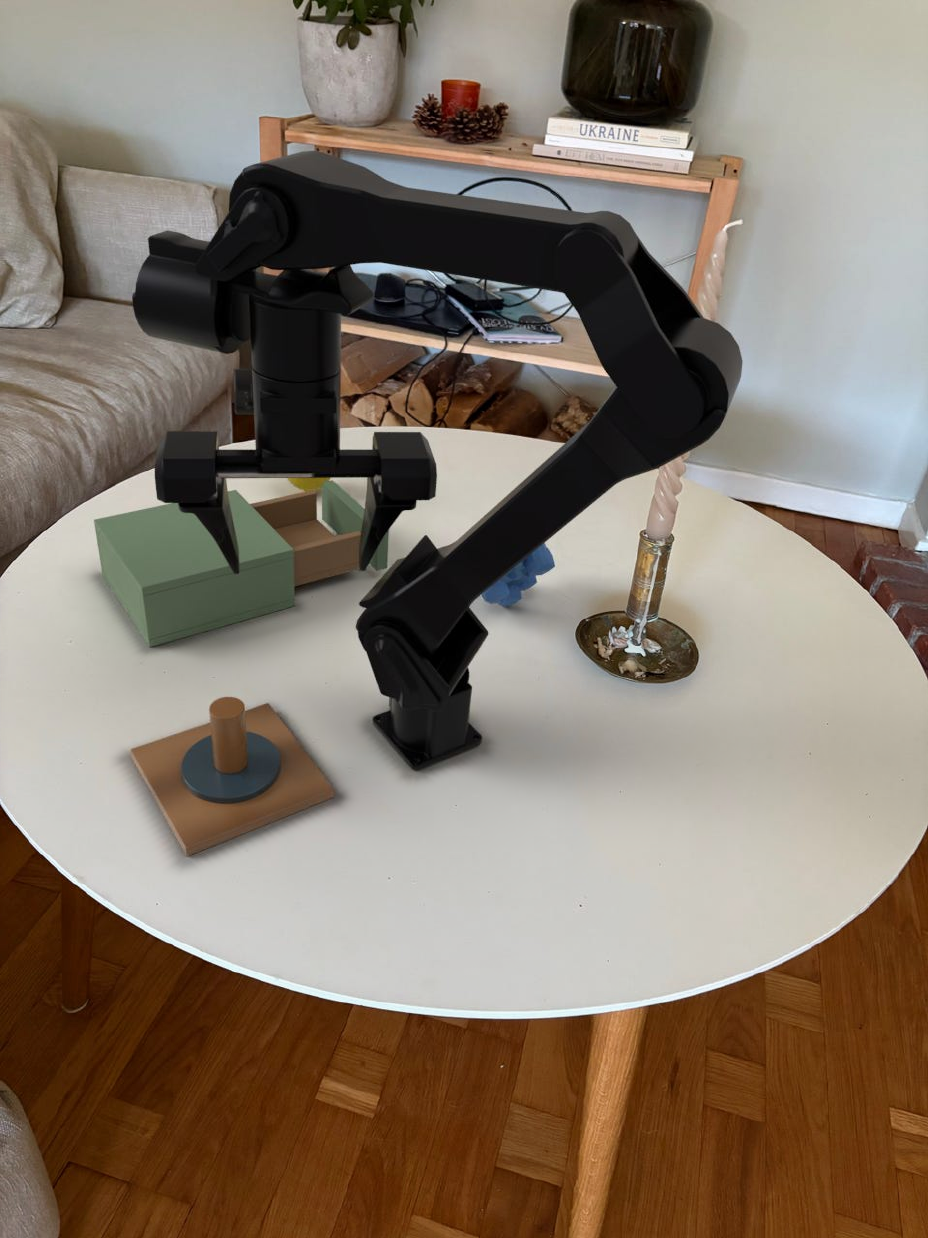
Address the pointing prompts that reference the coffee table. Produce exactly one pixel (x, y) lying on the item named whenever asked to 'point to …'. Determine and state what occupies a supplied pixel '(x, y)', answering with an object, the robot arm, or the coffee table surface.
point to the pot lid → (230, 758)
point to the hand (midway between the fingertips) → (300, 569)
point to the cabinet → (192, 570)
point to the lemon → (308, 483)
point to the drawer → (321, 532)
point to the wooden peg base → (222, 821)
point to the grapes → (520, 578)
